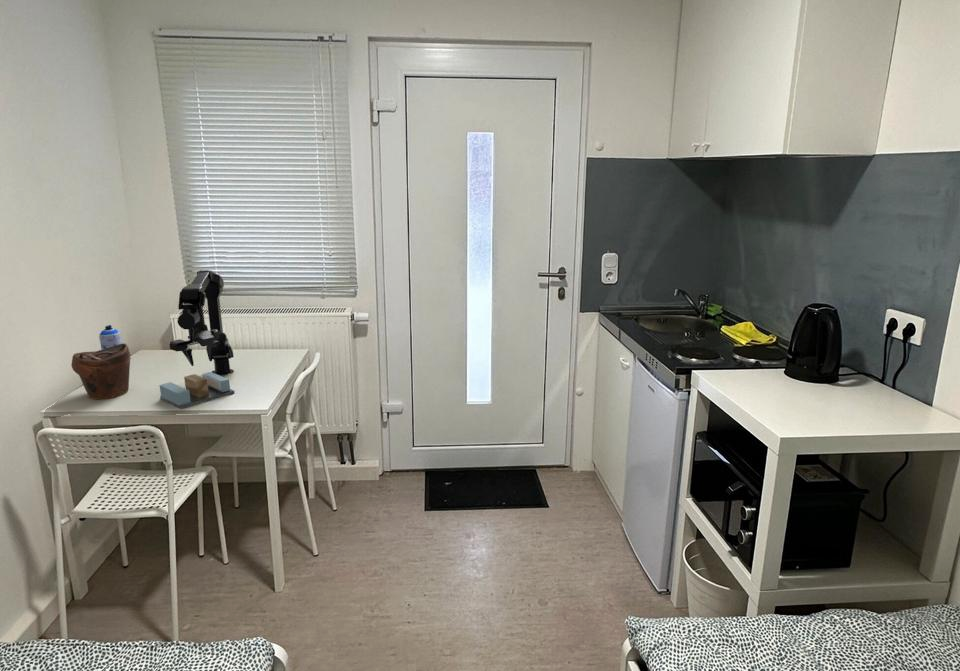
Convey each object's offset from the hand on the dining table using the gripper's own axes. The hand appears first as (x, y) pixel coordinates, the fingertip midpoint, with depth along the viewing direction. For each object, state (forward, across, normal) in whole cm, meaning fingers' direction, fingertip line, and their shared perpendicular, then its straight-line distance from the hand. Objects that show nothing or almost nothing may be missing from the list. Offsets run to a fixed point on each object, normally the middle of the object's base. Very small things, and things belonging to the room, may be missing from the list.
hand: (201, 363), depth 229 cm
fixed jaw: (+11, -11, 0) cm, 15 cm away
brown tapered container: (+12, -24, +28) cm, 39 cm away
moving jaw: (+10, +4, 0) cm, 11 cm away
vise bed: (+12, -3, 0) cm, 12 cm away
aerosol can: (+12, -12, +53) cm, 55 cm away
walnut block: (+11, -3, 0) cm, 11 cm away
